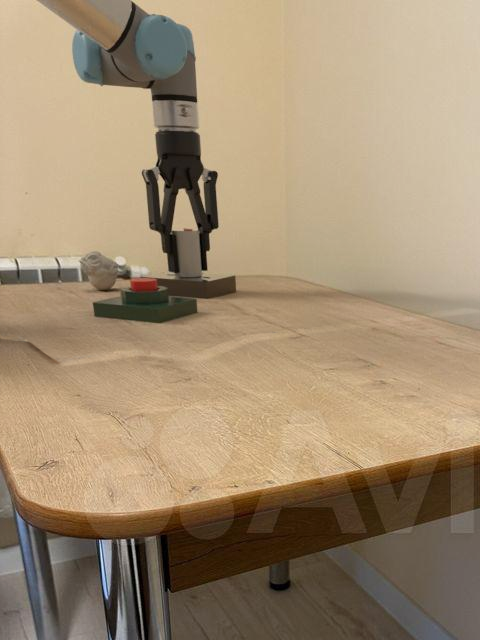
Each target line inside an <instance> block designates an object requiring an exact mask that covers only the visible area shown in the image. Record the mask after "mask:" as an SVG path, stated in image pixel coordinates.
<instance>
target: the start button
mask: <svg viewBox="0 0 480 640" xmlns="http://www.w3.org/2000/svg"><path fill="white" fill-rule="evenodd" d="M129 286H131V290H133V291H152V290H158V284H157V279H154V278H140V277H137V278H131V279H129Z"/></svg>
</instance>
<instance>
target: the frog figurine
mask: <svg viewBox="0 0 480 640" xmlns="http://www.w3.org/2000/svg"><path fill="white" fill-rule="evenodd" d="M78 262H79V266H80V269H82V271H83V273H85V274H86V275H87V278H88V281H89V283H90V284H91V286H92V287H93V288H95V289H96V290H99V291H108V290H111V289H112V288H113V287H114V286H115V284H116V282H117V277H118V275H119V269H118V268H119V264H118V263H117V262H116V261H114V260H113V259H111V258H110V257H109V258H108V257H106V256H105V255H103V254H102V253H101V252H99V251H97V250H94V251H90V252H86V253H85V254H84V256H82V257H81V258H80V259H78Z"/></svg>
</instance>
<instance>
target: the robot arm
mask: <svg viewBox="0 0 480 640" xmlns="http://www.w3.org/2000/svg"><path fill="white" fill-rule="evenodd" d="M36 1H37V2H38V3H40V4H41V5H43V7H45V8H46V9H48V10H49V11H51V12H52V13H53V14H54V15H56V16H57V17H59V18H61V19H62V20H63V21H64V22H65V23H67V24H68V25H70V26H71V27H73V28H75V32H74V33H73V36H72V37H73V38H72V42H71V43H72V45H71V52H72V53H71V55H72V61H73V65H74V69H75V71H76V73H77V75H78V77H79V78H80V79H81V81H83V82H84V83H87V84H93V85H99V86H101V87H104V86H111V87H125V88H139V89H143V90H150V94H151V101H152V102H151V103H152V115H153V126H154V128H156V129H157V131H155V134H154V137H155V138H154V139H155V149H156V155H157V161H156V164H155V166H154V167H150V168H149V169H142V171H141V176H142V178H143V179H142V180H143V181H144V183H145V190H146V203H147V215H148V227H149V229H150V230H151V231H154V232H157V233H158V234H159V235H160V241H161V250H162V252H163V254H166V256H167V268H168V272H173V273H179V267H178V255H177V243H176V235H174V234H171V231H172V230H173V224H174V223H173V222H174V217H175V210H176V202H177V197H178V195H179V190H184V191H185V194H186V195H187V197H188V200H189V204H190V208H191V210H192V213H193V217H194V220H195V223H196V227H197V230H199V235H200V249H201V264H202V272H207V271H208V257H207V256H208V255H207V252H210V249H211V243H210V234H211V233H212V232H213V231H214V230H218V229H219V226H220V225H219V224H220V223H219V211H218V210H219V209H218V199H217V186H216V185H217V182H218V177H219V173H218V172H217V171H216V170H210V169H208V168H206V167H205V166H204V164H203V162H202V144H201V134H199V132H197V130H199V128H200V117H199V116H200V115H199V104H198V90H197V89H198V87H197V72H196V71H197V69H196V61H197V58H196V53H195V44H194V38H193V33H192V31H191V29H190V28H189V27H188V26H186V25H184V24H181V23H177V22H176V21H174V20H173V19H172V18H171V17H168V16H165V15H163V14H155V13H152V14H149V13H148V12H147V11H145V9H143V8H141V7H140V6H139V5H137V4H136V3H135V2H134V1H132V0H36ZM159 176H160V177H161V179H162V181H164V183H163V199H162V207H161V201H160V191H159V190H160V189H159V183H158V181H159V180H160V177H159ZM200 179H201V180H202V181H203V198H204V203H203V200H202V196H201V188H200V184H199V181H200Z"/></svg>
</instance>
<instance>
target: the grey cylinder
mask: <svg viewBox="0 0 480 640" xmlns="http://www.w3.org/2000/svg"><path fill="white" fill-rule="evenodd" d="M199 233H200V232H199V230H198V229H195V228H187V227H184V228H176V229H175V228H174V229H172V231H171V234H174V235H176V243H177V255H178V267H179V273H174V274H175V276H176V277H186V278H189V277H200V276H202V272H203V271H202V264H201V249H200V235H199Z"/></svg>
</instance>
